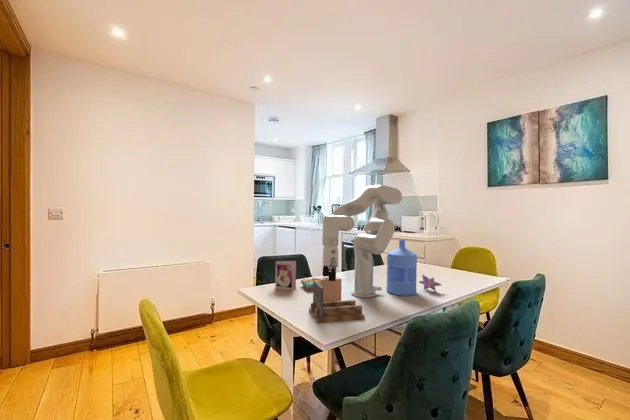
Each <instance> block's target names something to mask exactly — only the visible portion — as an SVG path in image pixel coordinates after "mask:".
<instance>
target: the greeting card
mask: <svg viewBox="0 0 630 420" xmlns="http://www.w3.org/2000/svg"><path fill="white" fill-rule="evenodd" d="M274 273H275V280H274V282H275V285H274V286H275V289H278V290H283V291H284V290H285V291H292V292H294V291H295V289H297V288H296V287H297V260H282V261H281V260H275V272H274Z"/></svg>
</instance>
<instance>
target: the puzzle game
mask: <svg viewBox="0 0 630 420" xmlns="http://www.w3.org/2000/svg"><path fill="white" fill-rule="evenodd" d="M313 281H317V282H318V283H319V278H314V277H312V278H303V279H300V283H301V284H302V286H303V288H305V290H307V291H308V292H310V291H312V292H313Z"/></svg>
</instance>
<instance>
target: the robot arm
mask: <svg viewBox="0 0 630 420" xmlns="http://www.w3.org/2000/svg"><path fill="white" fill-rule="evenodd" d="M402 200H403V194H402V191H401V190H400V189H399V188H396V187H392V186H389V185H385V184H372V185H371V184H370V185H367V186H365V187H364V188H363V189H362V190H361V191H360V192H359V193H358V194H356V196H355V197H354V198H353V199H352V200H350V201H348V202H346V203H344V204H342V205H340V206H338V207H337V208H335V210H333V212H331V213H330V215H325V216H323V219H322V239H321V240H322V241H321V244H322V246H323V249H322V277H329V281H336V277H337V268H338V267H339V250H338V246H339V237H340V236H339V234H340V232H350V231H352V230H353V229H354V227H355V220H354V218H353V217H354V216H358V215H361V214H364V213H365V212H366V211H367V209H369V207H371V206H372V204H373V211H372V214H371V216H370V217H369V218H368V220H367V222H366V224H365V225H364V232H365V233H358V234H357V235H356V236H355V237H354V238H353V241H352V244H353V251H354V252H353V253H354V289H352V290H351V291H350V292H351V293H350V294H351V296H354V297H357V298H363V299H365V298H367V299H368V298H373V297H375V296H376V295H377V293H376V292H377V291H382V286H376V285H374V259H373V258H374V257H373V255H381V254H383V253H384V252H385V251H386V249H387V247H388V245H389V244H390V242H391V240H392V238H393V236H394V233H395V224H394V222H393V221H392V220H391V219H389V211H388V208H387V206H386V205H390V206H391V205H392V206H393V205H398V204H400V203H401V201H402ZM372 254H373V255H372Z"/></svg>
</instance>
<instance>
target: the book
mask: <svg viewBox="0 0 630 420" xmlns="http://www.w3.org/2000/svg"><path fill="white" fill-rule="evenodd" d="M318 279H319V284H320V285H321V286H322V287H323V302H331V301H342V281H343V279H342V278H341V277H339V276H336V281H329V276H327V277H318Z"/></svg>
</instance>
